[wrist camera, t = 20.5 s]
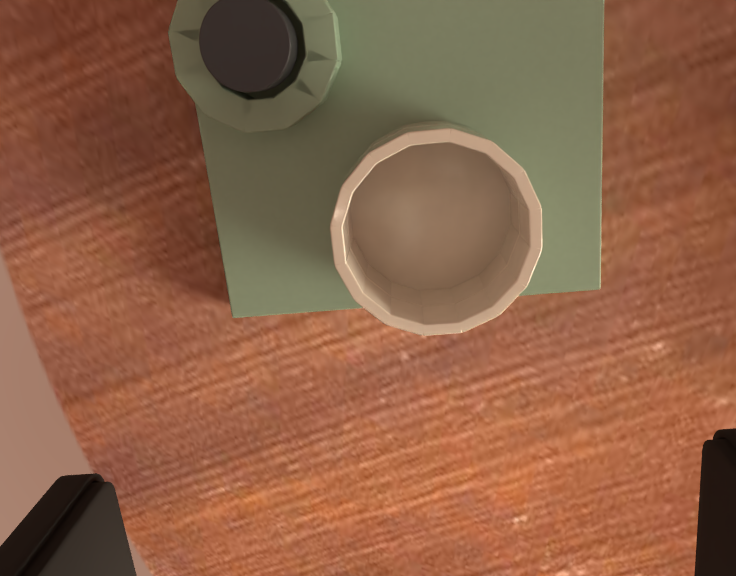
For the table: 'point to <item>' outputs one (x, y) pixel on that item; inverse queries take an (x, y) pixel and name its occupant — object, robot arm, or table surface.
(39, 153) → the table surface
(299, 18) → the scale
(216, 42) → the tare button
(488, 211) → the white bowl
